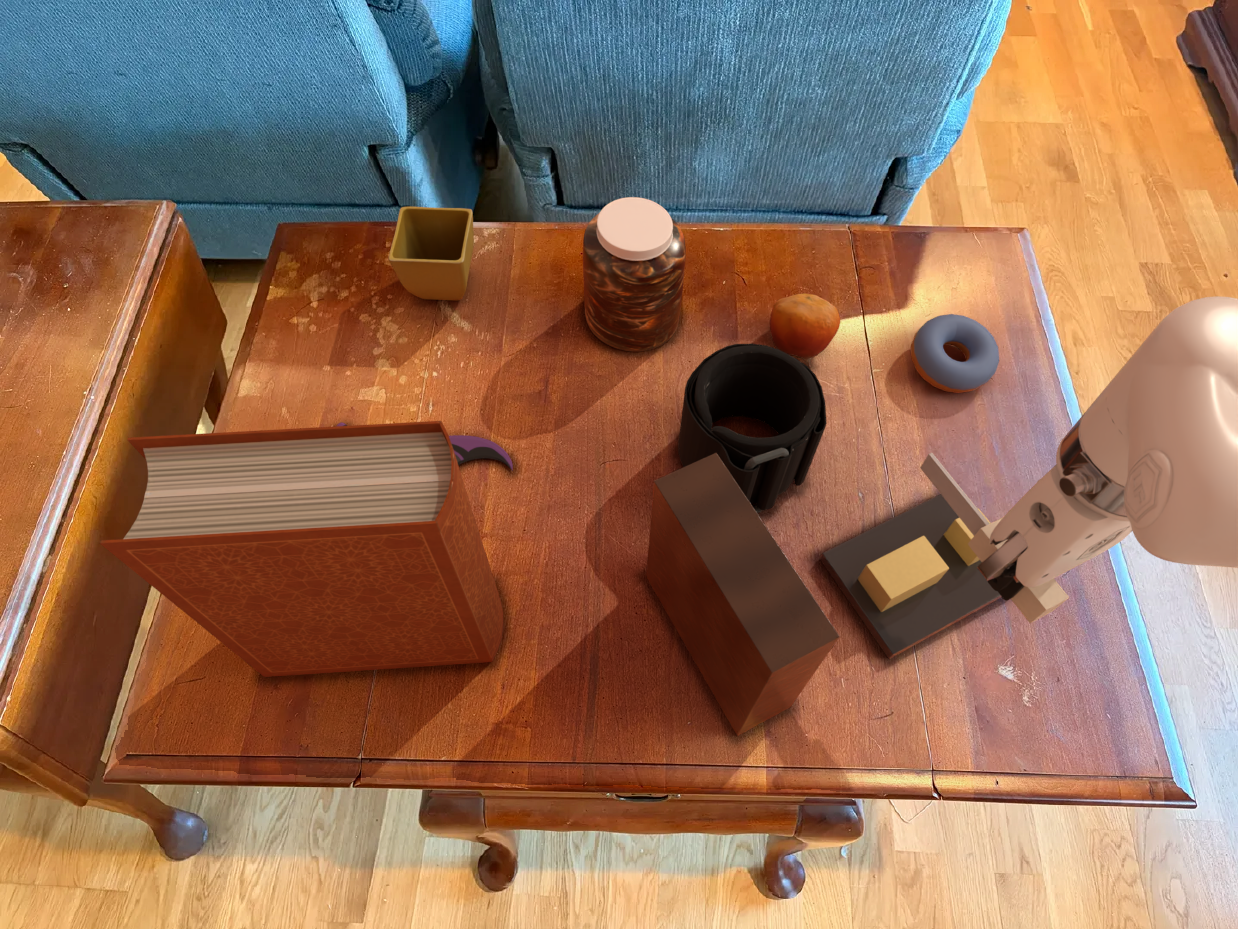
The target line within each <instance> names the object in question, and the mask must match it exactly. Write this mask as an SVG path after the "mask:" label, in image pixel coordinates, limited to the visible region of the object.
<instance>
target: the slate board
mask: <svg viewBox="0 0 1238 929" xmlns="http://www.w3.org/2000/svg"><path fill="white" fill-rule="evenodd" d="M957 518H959V516H958V515H957V514H956V513H955V511H954V510H953V509H952V507H951V506H950V505H949V504H948V502H947V501H946V500H945V499H944V497H943V496H942V495H941V494H940V493H938V494H937V495H935V496H933V497H931V498H929V499H927V500H925V501H923V502H922V503H919V504H917V505H915V506H913V507H912V508H909V509H907V510H906V511H903V512H902V513H899V514H897V515H896V516H894V517H892V518H890V519H888V520H885V521H884V522H883V521H882V523H879V524H877V525H875V526H873V527H871V528H870V529H868V530H865V531H863V532H862V533H859V534H857V535H856V536H854V537H852V538H850V539H848V540H845V541H844V542H841V543H839V544H837V545H836V546H834V547H832V548H829V549H827V550H825V551H824V552H822V554H821V555H820V557H819V560H820V562H821V563H822V565H823V566H824V568H825V569H826V571H827V572H828V573H829V575H830V576H831V578H832V579H833V581H834V582H835V584H836V585H837V586H838V588H839V589H840V592H842V594H843V595H844V597H845V598H846V599H847V601H848V602H849V604H850V605H851V607H852V608H853V609H854V611H855V612H856V613H857V615H858V617H859V618H860V620H861V621H862V622H863V624H864V626H865V627H866V629H867V630H868V632H870V634H871V635H872V637H873V639H875V641H876V642H877V645H879V648H881V650H882V652H883V653H884V654H885V656H886V657H887V658H888V659H889V660H891V659H892V658H894V657H895V656H898V655H900V654H901V653H904V651H907V650H909V649H910V648H912V647H914V646H916V645H918V644H919V643H921V642H923V641H925V640H926V639H928V638H930V637H932V636H934V635H936V634H938V633H940V632H941V631H943V630H945V629H947V628H948V627H950V626H952V625H954V624H956V623H957V622H959V621H961V620H963V619H965V618H966V617H968V616H970V615H972V614H974V613H976V612H978V611H980V610H981V609H983V608H985V607H986V606H988V605H990V604H992V603H994V602H996V601H998V600H1000V599H1001V598H1002V596H1001V595H1000V594H999V593H998V591H995V590H994V589H993V588H992V587H991V586H990V584H989V583H988V582H987V580H986V578H985V577H984V576H983V575H982V573H981V572H980V571H979V570H978V568H977V566H978V565H980V564H981V563H982V562H981V560H979V561H977V562H975V563H973V564H971V565H969V566H968V565H967V564H966V563H965V562H964V560H963V559H962V558H961V557H960V555H959V554H958V553H957V551H956V550H955V549H954V548H953V546H952V545H951V544H950V543H949V541H948V540H947V539H946V538H945V536H944V533H945V532H946V531H947V530H948V528H949V527H950V526H951V524H952V523H953V522H954V520H955V519H957ZM922 536H925V537H926V539H927V540H928V541H929V543H930V544H931V545H932V547H933V548H934V549H935V550H936V552H937V553H938V554H939V556H940V557H941V558H942V559H943V561H944V562H945V563H946V565H947V566H948V567H949V569H948V571H947V572H946V573H945V574H944V575H943V576H942V578H941V579H940V580H939V581H938V582H937V583H935V584H933V585H932V586H930V587H928V588H926V589H924V590H922V591H920V592H918V593H917V594H915V595H913V596H911V597H909V598H907V599H905V600H903V601H902V602H900V603H898V604H896V605H894V606H892V607H890V608H888V609H887V610H885V611H883V612H881V611H880V610H879V609H878V607H877V606H876V604H875V603H874V602H873V600H872V599H871V597H870V596H869V594H868V593H867V592H866V590H865V589H864V587H863V586H862V585H861V583H860V582H859V580H858V577H859V576H860V574H861V573H862V571H863V570H864V568H865V567H866V565H867V564H869V563H871V562H873V561H875V560H877V559H879V558H881V557H883V556H885V555H887V554H889V553H891V552H893V551H895V550H897V549H898V548H900V547H902V546H904V545H906V544H908V543H910V542H912V541H914V540H916V539H918V538H920V537H922Z"/></svg>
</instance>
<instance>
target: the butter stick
mask: <svg viewBox="0 0 1238 929" xmlns="http://www.w3.org/2000/svg"><path fill="white" fill-rule="evenodd" d="M948 569H949V567H948V566H947V565H946V563H945V562H944V561H943V559H942V558H941V557H940V556H939V554H938V553H937V552H936V550H935V549H934V548H933V547H932V545H931V544H930V543H929V541H928V540H927V539H926V537H925V536H922V537H920V538H918V539H916V540H914V541H912V542H910V543H908V544H906V545H904V546H902V547H900V548H898V549H897V550H895V551H893V552H891V553H889V554H887V555H885V556H883V557H881V558H879V559H877V560H875V561H873V562H871V563H869V564H867V565H866V567H865V568H864V570H863V571H862V573H861V574H860V576H859V577H858V580H859V582H860V583H861V585H862V586H863V587H864V589H865V590H866V592H867V593H868V594H869V596H870V597H871V599H872V600H873V602H874V603H875V604H876V606H877V607H878V609H879V610H880V611H881V612H883V611H885V610H887V609H888V608H890V607H892V606H894V605H896V604H898V603H900V602H902V601H903V600H905V599H907V598H909V597H911V596H913V595H915V594H917V593H918V592H920V591H922V590H924V589H926V588H928V587H930V586H932V585H933V584H935V583H937V582H938V581H939V580H940V579H941V578H942V576H943V575H944V574H945V573H946V572H947V571H948Z"/></svg>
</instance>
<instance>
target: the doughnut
mask: <svg viewBox="0 0 1238 929" xmlns="http://www.w3.org/2000/svg"><path fill="white" fill-rule="evenodd" d="M996 341H997V340H996V339H995V337H994V336H993V334H992V333H991V332H990V331H989V330H988V328H987V327H985V326H984V325H983V324H982V323H980V322H978V321H977V320H976V319H973V318H970V317H968V316H966V315H963V314H962V315H961V314H955V313H948V314H941V315H937V316H935V317H932V318H930V319H928V320H927V321H926V322H924V323H923V325H922V326H921V327H920V328H919V329H918V330H917V331H916V332H915V334H914V336H913V338H912V341H911V344H910V357H911V361H912V364H913V366H914V368H915V370H916V371H917V373H918V374H919V376H920V377H921V378H922V379H923V380H924V381H926V382H927V384H930V385H931V386H932V387H934V388H936V389H939V390H941V391H944V392H948V393H955V394H960V393H967V392H973V391H975V390H977V389H978V388H980V387H983V386H984V385H986V384H987V383H989V381H990V380H991V379H992V377H993V376H994V375H995V374H996V372H997V370H998V366H999V364H1000V351H999V345H998V344H997V342H996ZM944 346H952V347H955V348H957V349H958V350H960V351H961V352H962V353H963V355H964V357H965V361H959V360H956V359H953V358H952V357H950V356H949V355H948V353H946V351H945V348H944Z"/></svg>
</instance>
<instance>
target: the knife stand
mask: <svg viewBox="0 0 1238 929" xmlns="http://www.w3.org/2000/svg"><path fill="white" fill-rule="evenodd" d="M753 506H754V505H752V503H750V502H749V500H748V499H747V497H746V496H745V494H744V493H743V491H742V490H741V489H740V487H739V486H738V484H737V483H736V481H735V480H734V478H733V477H732V475H731V474H730V472H729V471H728V469H727V468H726V466H725V465H724V463H723V462H722V460H721V459H720V457H719V456H718V454H717V453H714V454H712V455H710V456H708V457H706V458H703V459H701V460H699V461H697V462H694V463H692V464H690V465H688V466H686V467H683V466H682V468H679V469H677V470H675V471H672V472H670V473H668V474H666V475H664V476H662V477H660V478H657V479H655V480H653V488H652V501H651V513H650V523H649V524H650V525H649V536H648V548H647V559H646V560H647V561H646V572H645V578H646V579H647V581H648V583H649V585H650V586H651V588H652V590H653V592H654V593H655V595H656V597H657V599H658V600H659V602H660V604H661V606H662V607H663V609H664V611H665V613H666V614H667V616H668V618H669V620H670V622H671V623H672V625H673V627H674V629H675V630H676V632H677V634H678V635H679V637H680V639H681V641H682V643H683V644H684V646H685V648H686V649H687V651H688V653H689V655H690V656H691V658H692V660H693V661H694V664H695V666H696V667H697V668H698V670H699V672H700V674H701V676H702V678H703V679H704V681H705V683H706V684H707V686H708V687H709V689H710V691H711V693H712V695H713V697H714V698H715V700H716V702H717V703H718V705H719V707H720V708H721V711H722V713H723V714H724V716H725V717H726V719H727V721H728V723H729V724H730V727H731V728H732V730H733V731H734V734H735V735H736V736H737V737H738V736H741V735H743V734H744V733H746V732H748V731H749V730H751V729H754V728H755V727H757V726H759V725H761V724H763V723H764V722H766V721H768V720H770V719H771V718H773V717H775V716H777V715H779V714H781V713H783V712H784V711H786V710H788V709H790V708H791V707H792V706H793V704H795V702H796V700H797V699H798V697H799V696H800V694H801V693H802V692H803V690H804V689H805V687H806V686H807V684H808V683H809V681H810V680H811V679H812V678H813V676H814V674H816V671H817V670H818V669H819V667H820V666H821V664H822V663H823V661H824V660H825V659H826V657H827V656H828V654H829V653H830V652H831V650H832V648H833V647H834V646H835V644H836V643H837V641H838V640H839V639H840V637H841V636H840V634H839V632H838V631H837V629H836V628H835V627H834V626H833V624H832V622H831V620H830V619H829V618H828V616H827V615H826V613H825V611H824V610H823V609H822V607H821V606H820V605H819V603H818V601H817V600H816V598H815V597H814V595H813V593H811V591H810V590H809V588H808V586H807V585H806V584H805V582H804V581H803V579H802V577H801V576H800V574H799V573H798V572H797V570H796V568H795V567H794V566H793V564H792V562H791V561H790V560H789V558H788V557H787V555H786V553H785V552H784V551H783V549H782V548H781V547H780V544H778V542H777V540H776V539H775V538H774V536H773V535H772V533H771V532H770V530H769V529H768V527H767V526H766V524H765V522H764V521H763V519H762V518H761V517H760V515H759V514H758V513H757V512H756V511H755V509H754V508H753Z"/></svg>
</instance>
